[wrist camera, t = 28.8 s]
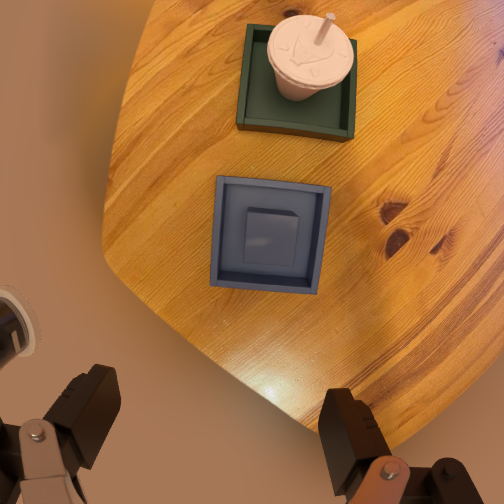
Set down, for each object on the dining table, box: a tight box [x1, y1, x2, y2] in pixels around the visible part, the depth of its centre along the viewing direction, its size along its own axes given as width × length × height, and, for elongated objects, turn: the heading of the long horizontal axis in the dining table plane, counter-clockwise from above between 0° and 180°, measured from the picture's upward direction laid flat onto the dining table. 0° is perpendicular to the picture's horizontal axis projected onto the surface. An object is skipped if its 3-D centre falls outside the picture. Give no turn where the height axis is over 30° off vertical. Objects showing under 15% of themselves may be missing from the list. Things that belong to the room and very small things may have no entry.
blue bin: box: [210, 175, 331, 295], centre depth 29 cm, size 10×10×4 cm
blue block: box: [243, 207, 299, 267], centre depth 28 cm, size 4×4×4 cm
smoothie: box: [267, 13, 354, 101], centre depth 20 cm, size 6×6×14 cm
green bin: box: [236, 24, 357, 143], centre depth 25 cm, size 11×11×4 cm
